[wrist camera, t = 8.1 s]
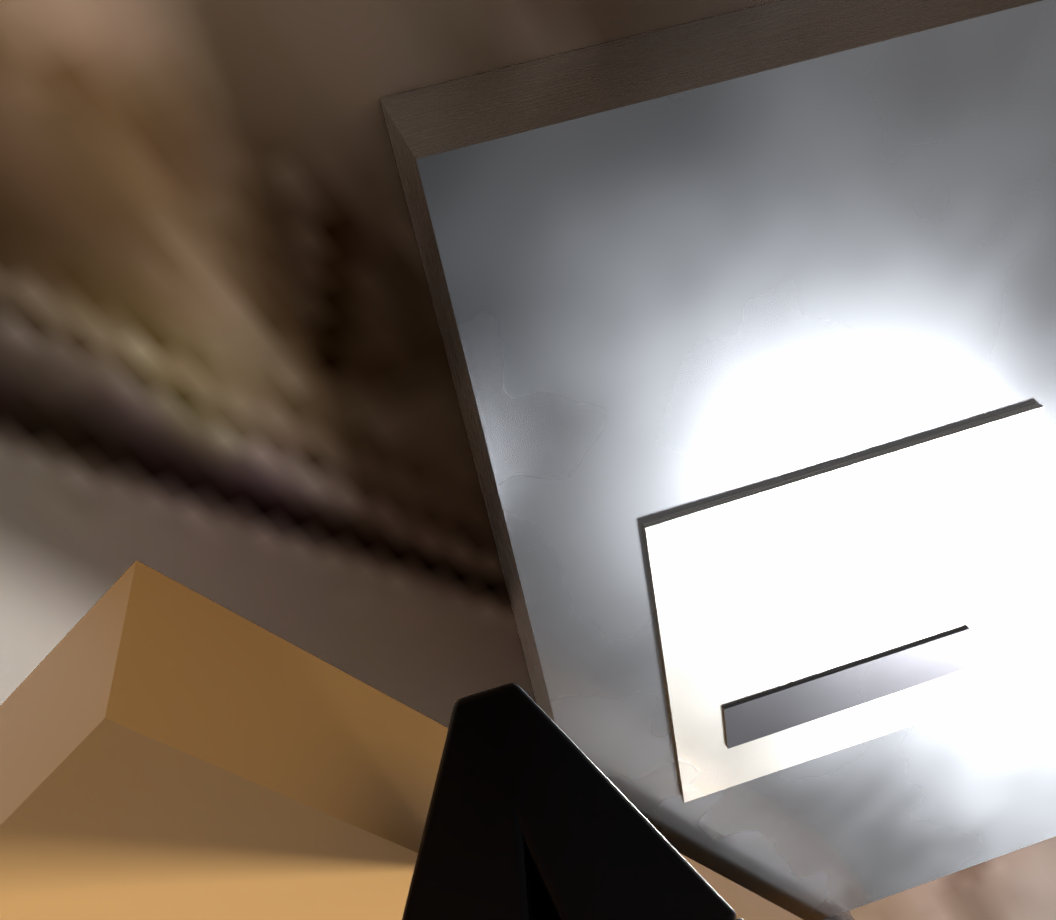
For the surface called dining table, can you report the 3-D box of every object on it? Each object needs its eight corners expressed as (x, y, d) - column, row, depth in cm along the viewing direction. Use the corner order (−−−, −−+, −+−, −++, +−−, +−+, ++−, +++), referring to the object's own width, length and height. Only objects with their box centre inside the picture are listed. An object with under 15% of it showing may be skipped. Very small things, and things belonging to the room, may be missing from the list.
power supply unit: (1240, 723, 22) (1376, 837, 19) (600, 949, 20) (651, 1109, 17) (1571, -194, 12) (1946, -223, 9) (379, 97, 10) (418, 164, 8)
